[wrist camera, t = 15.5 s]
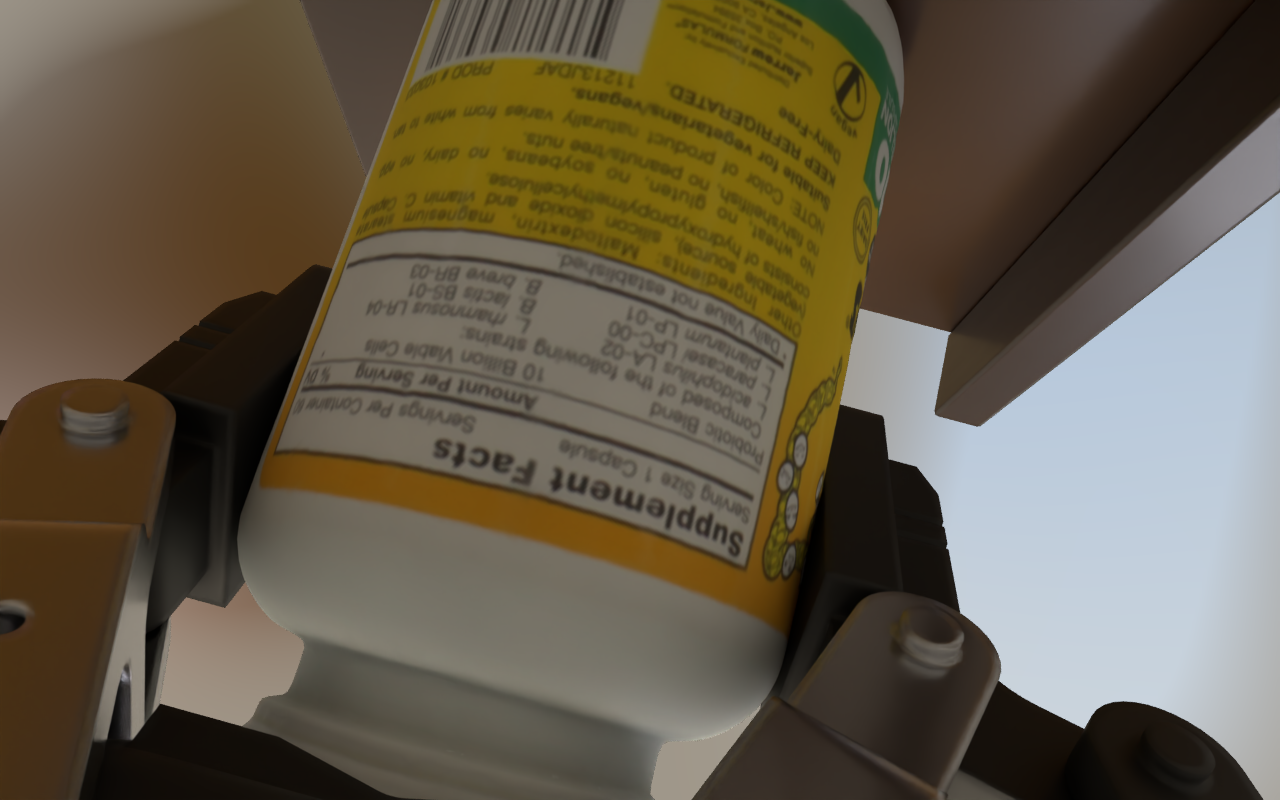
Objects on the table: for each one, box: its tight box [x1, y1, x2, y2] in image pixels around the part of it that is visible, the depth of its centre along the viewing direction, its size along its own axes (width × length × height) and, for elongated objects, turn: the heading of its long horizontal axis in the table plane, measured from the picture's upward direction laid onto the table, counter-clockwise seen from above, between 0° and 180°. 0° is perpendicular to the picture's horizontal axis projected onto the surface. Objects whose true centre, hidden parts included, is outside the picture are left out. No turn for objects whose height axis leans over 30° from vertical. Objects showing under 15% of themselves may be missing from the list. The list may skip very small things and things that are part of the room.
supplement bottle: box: [237, 0, 904, 800], centre depth 11 cm, size 5×5×10 cm
